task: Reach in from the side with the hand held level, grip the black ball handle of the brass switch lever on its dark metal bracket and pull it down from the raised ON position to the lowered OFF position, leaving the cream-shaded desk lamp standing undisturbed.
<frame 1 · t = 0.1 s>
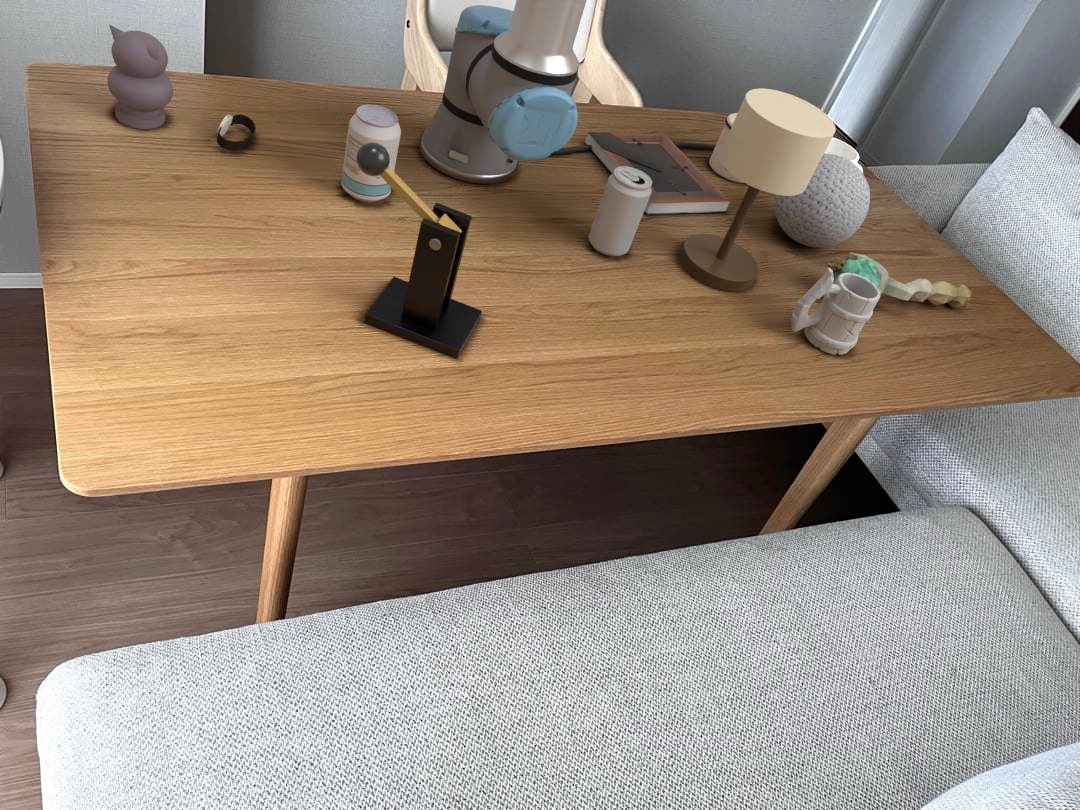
cat figurine: (141, 118, 128), on the table
picture frame: (653, 179, 157), on the table
switch bracket: (423, 320, 112), on the table
mug: (814, 339, 133), on the table
watch: (235, 142, 130), on the table
lamp: (716, 267, 140), on the table
scepter: (890, 298, 148), on the table
beverage can 2: (364, 193, 129), on the table
decorative ball: (800, 239, 155), on the table
lamp switch: (407, 195, 102), point 16 cm above the table, hinge at 30.0°
beverage can: (606, 247, 136), on the table
teacup with lid: (736, 172, 168), on the table
mug 2: (813, 202, 167), on the table
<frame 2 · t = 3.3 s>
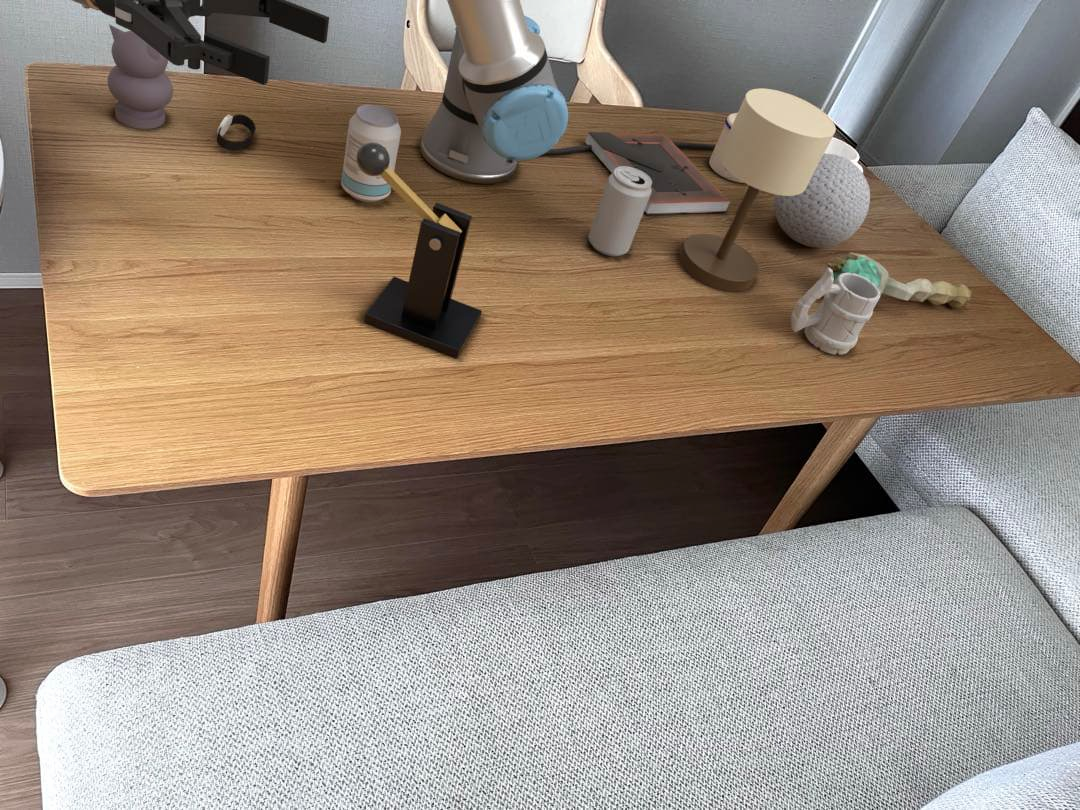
hand: (298, 49, 95), 27 cm above the table, tool horizontal, fingers open, 13 cm apart
nothing on the table moved.
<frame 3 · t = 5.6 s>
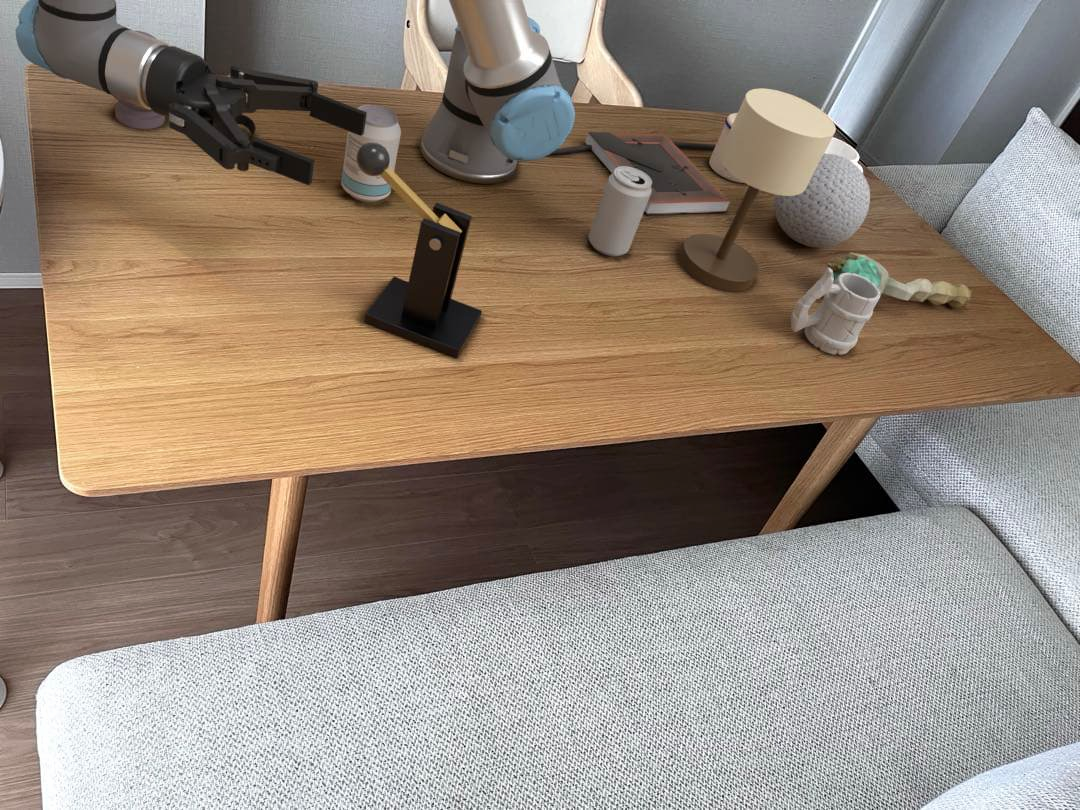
hand: (339, 147, 100), 18 cm above the table, tool horizontal, fingers open, 13 cm apart
nothing on the table moved.
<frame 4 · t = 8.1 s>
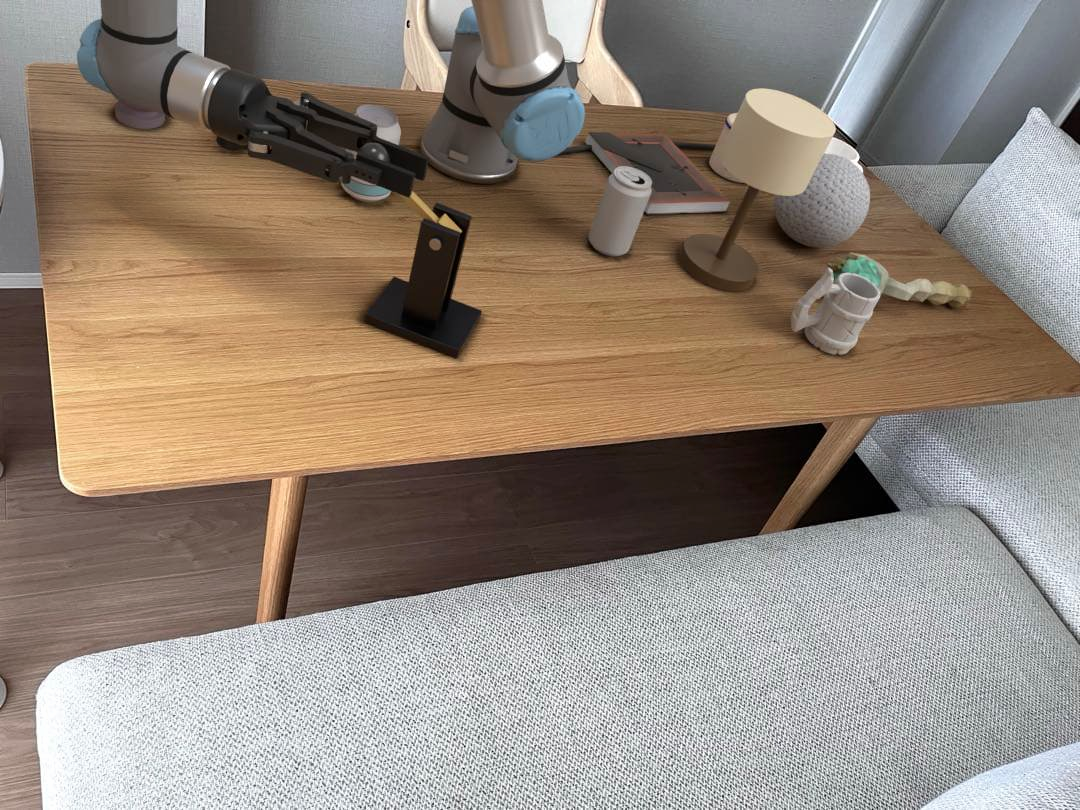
hand: (418, 177, 100), 18 cm above the table, tool horizontal, fingers closed on lamp switch, 4 cm apart
lamp switch: (407, 195, 102), point 16 cm above the table, hinge at 30.0°, touching gripper
everything else where it was.
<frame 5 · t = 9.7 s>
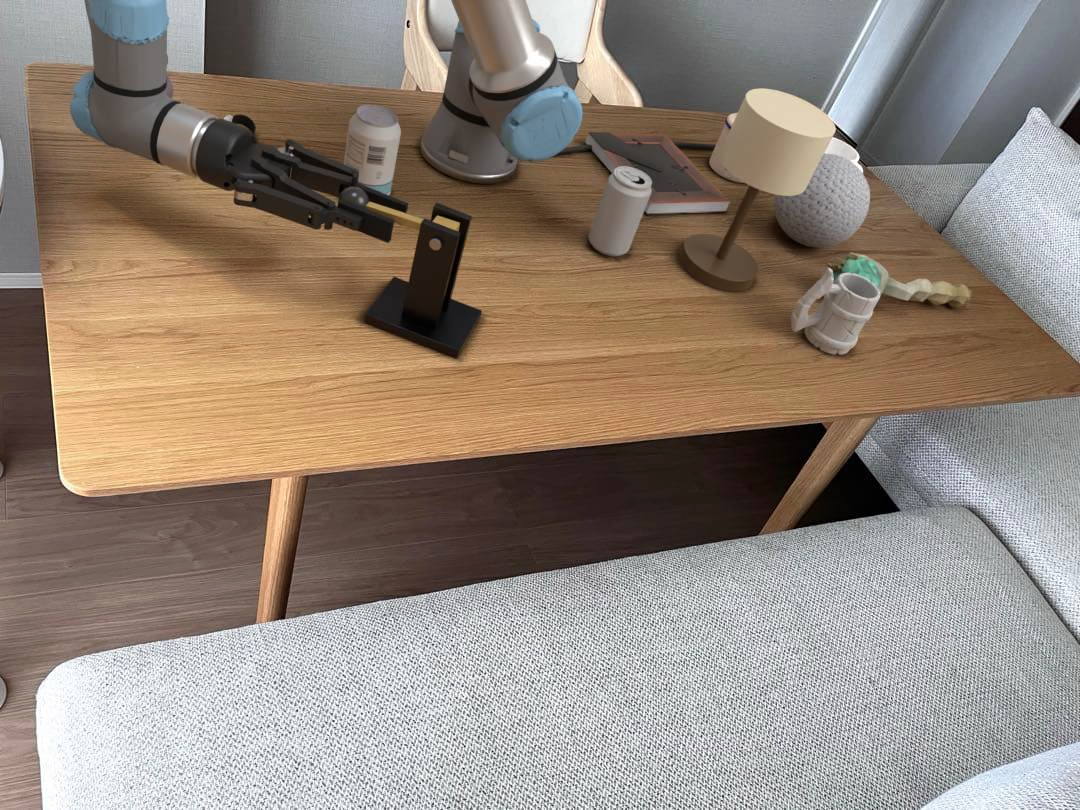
hand: (398, 222, 105), 12 cm above the table, tool horizontal, fingers closed on lamp switch, 4 cm apart
lamp switch: (397, 216, 104), point 13 cm above the table, hinge at -3.7°, touching gripper
everything else where it was.
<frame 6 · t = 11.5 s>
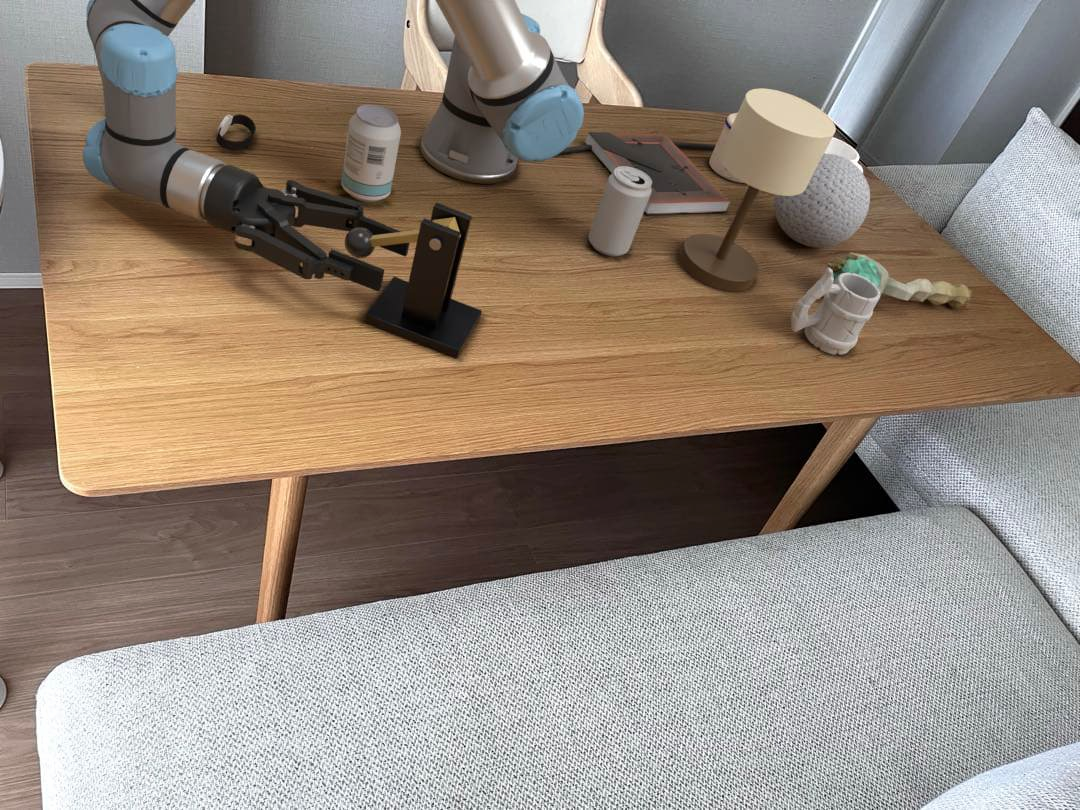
hand: (395, 262, 108), 7 cm above the table, tool horizontal, fingers open, 8 cm apart
lamp switch: (399, 237, 106), point 10 cm above the table, hinge at -30.5°
everything else where it was.
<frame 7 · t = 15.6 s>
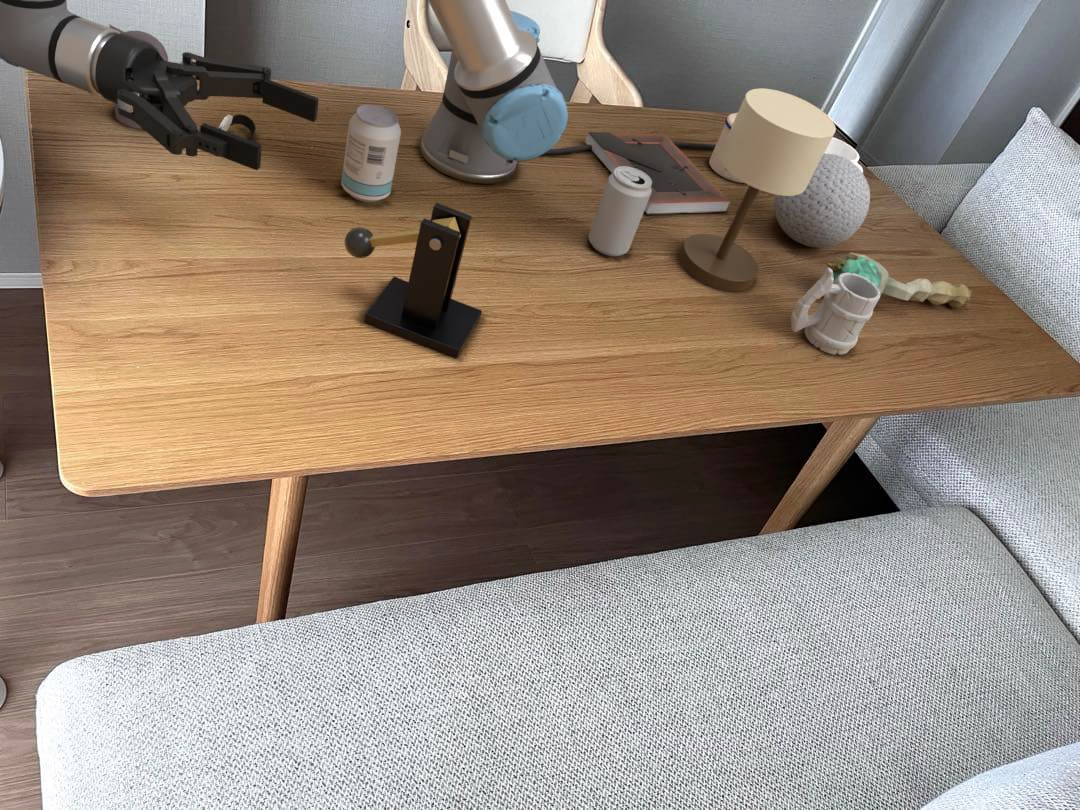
hand: (289, 133, 101), 18 cm above the table, tool horizontal, fingers open, 13 cm apart
nothing on the table moved.
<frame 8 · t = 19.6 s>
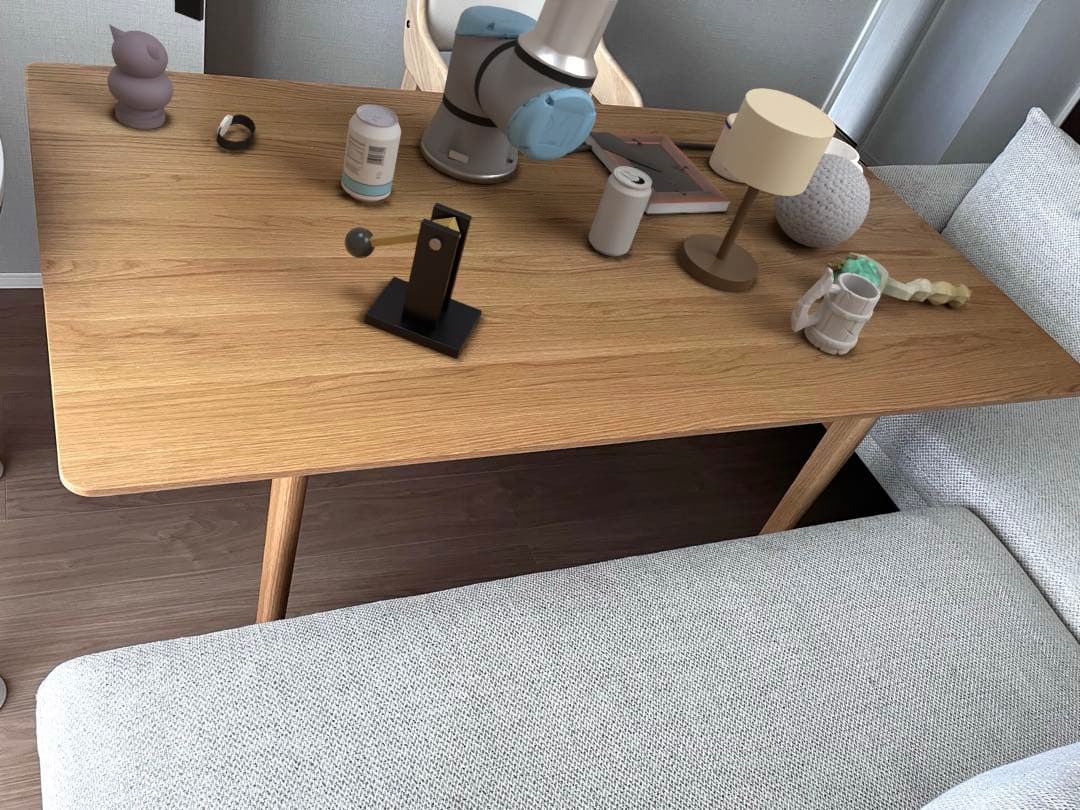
nothing on the table moved.
at the end: lamp switch at -30° (first picture: +30°); lamp moved 0.0 cm from its start; the gripper is holding nothing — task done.
